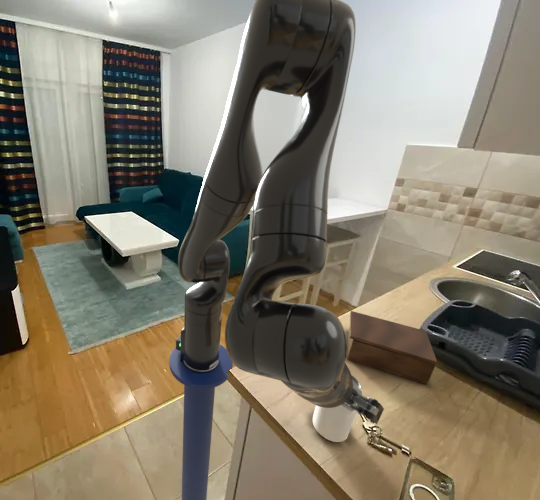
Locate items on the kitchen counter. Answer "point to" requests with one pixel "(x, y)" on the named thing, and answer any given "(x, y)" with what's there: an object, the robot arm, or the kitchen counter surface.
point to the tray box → (389, 361)
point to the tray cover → (391, 336)
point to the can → (334, 420)
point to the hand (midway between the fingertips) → (335, 390)
